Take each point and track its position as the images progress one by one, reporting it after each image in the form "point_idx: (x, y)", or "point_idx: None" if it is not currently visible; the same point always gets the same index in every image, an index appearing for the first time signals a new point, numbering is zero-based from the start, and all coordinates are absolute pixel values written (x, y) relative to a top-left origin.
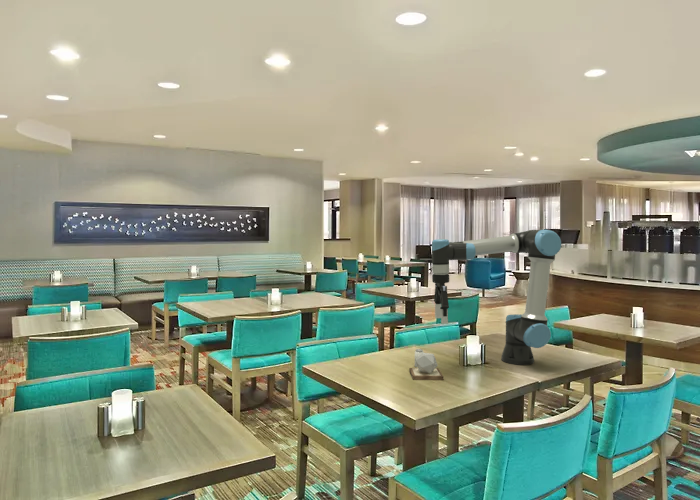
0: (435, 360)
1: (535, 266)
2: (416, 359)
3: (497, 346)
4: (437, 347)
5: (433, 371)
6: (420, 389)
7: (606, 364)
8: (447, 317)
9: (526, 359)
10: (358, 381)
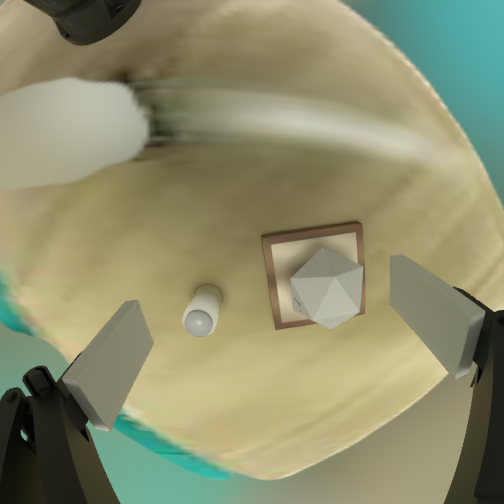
0: (333, 261)
1: None
2: (329, 328)
3: None
4: (4, 237)
5: (311, 255)
6: None
7: None
8: (430, 275)
9: None
10: (370, 409)
